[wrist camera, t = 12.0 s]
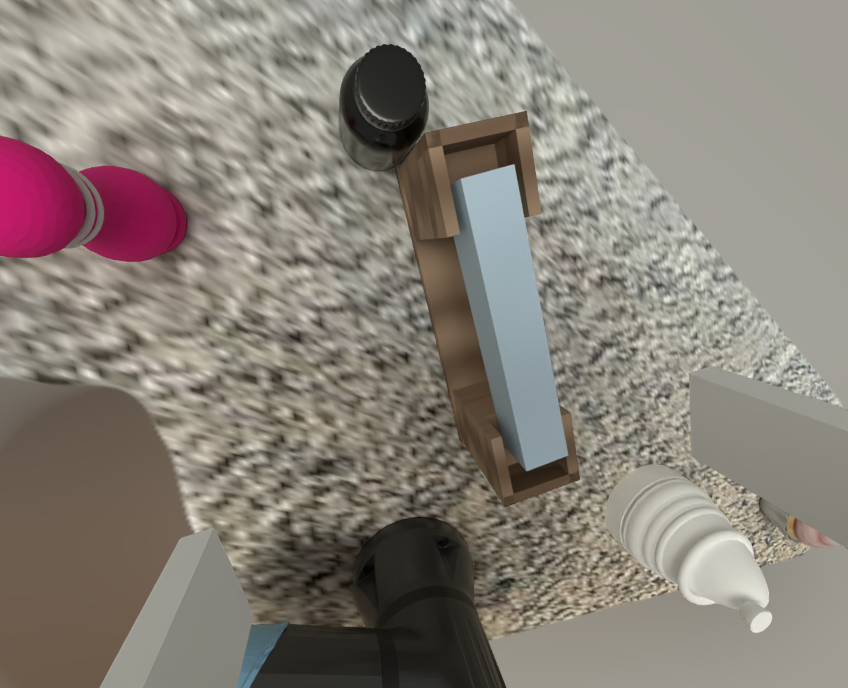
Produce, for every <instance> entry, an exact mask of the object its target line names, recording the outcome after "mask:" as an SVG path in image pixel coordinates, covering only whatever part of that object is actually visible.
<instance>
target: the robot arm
mask: <svg viewBox="0 0 848 688" xmlns="http://www.w3.org/2000/svg"><path fill="white" fill-rule="evenodd" d="M689 386H690V417H691V448H692V457H694V458H696V459H697V460H699V461H701V462H702V463H704V464H706V465H707V466H709V467H711V468H712V469H714V470H716V471H717V472H719V473H721V474H722V475H724V476H726V477H728V478H729V479H731V480H733V481H734V482H736V483H738V484H739V485H741V486H743V487H744V488H746V489H748V490H749V491H751V492H753V493H754V494H756V495H758V496H759V497H761V498H763V499H764V500H766V501H768V502H770V503H771V504H773V505H775V506H776V507H778V508H780V509H781V510H783V511H785V512H786V513H788V514H790V515H791V516H793V517H795V518H796V519H798V520H800V521H801V522H803V523H805V524H807V525H808V526H810V527H812V528H813V529H815V530H817V531H818V532H820V533H822V534H823V535H825V536H827V537H828V538H830V539H832V540H833V541H835V542H837V543H838V544H840V545H842V546H844V547H845V548H847V549H848V410H847V409H844V408H841V407H838V406H835V405H832V404H828V403H825V402H822V401H819V400H816V399H813V398H810V397H807V396H804V395H800V394H797V393H794V392H791V391H788V390H785V389H782V388H779V387H776V386H772V385H769V384H766V383H763V382H760V381H757V380H754V379H751V378H748V377H744V376H741V375H738V374H735V373H732V372H729V371H726V370H723V369H719V368H716V367H713V366H711V367H708V368H705V369H701V370H698V371H695V372H692V373H689ZM352 579H353V596H354V600H355V604H356V607H357V609H358V611H359V613H360V616H361V618H362V620H363V622H364V624H365V626H366V628H364V627H339V626H313V625H297V624H289V623H290V622H283V623H282V624H261V625H251V624H252V620H253V615H254V613H253V611H252V608H251V606H250V604H249V602H248V600H247V598H246V595H245V593H244V591H243V589H242V587H241V585H240V582H239V580H238V578H237V576H236V574H235V572H234V570H233V567H232V565H231V563H230V561H229V559H228V557H227V554H226V552H225V550H224V548H223V546H222V544H221V541H220V539H219V537H218V535H217V533H216V531H215V528H211V529H208V530H204V531H201V532H198V533H195V534H192V535H189V536H186V537H183V538H181V539H180V540H179V542H178V544H177V545H176V547H175V549H174V551H173V553H172V555H171V557H170V559H169V560H168V562H167V564H166V566H165V568H164V570H163V571H162V573H161V575H160V577H159V579H158V581H157V582H156V584H155V586H154V588H153V590H152V592H151V594H150V595H149V597H148V599H147V601H146V603H145V605H144V606H143V608H142V610H141V612H140V614H139V616H138V618H137V619H136V621H135V623H134V625H133V627H132V629H131V630H130V632H129V634H128V636H127V638H126V640H125V642H124V643H123V645H122V647H121V649H120V651H119V653H118V655H117V656H116V658H115V660H114V662H113V664H112V666H111V667H110V669H109V671H108V673H107V675H106V677H105V679H104V680H103V682H102V684H101V686H100V688H506V686H505V683H504V681H503V678H502V675H501V673H500V670H499V667H498V665H497V663H496V660H495V657H494V655H493V652H492V650H491V647H490V644H489V642H488V639H487V636H486V634H485V631H484V629H483V626H482V623H481V621H480V618H479V616H478V613H477V611H476V608H475V605H474V573H473V563H472V559H471V555H470V553H469V551H468V548H467V546H466V543H465V541H464V539H463V538H462V536H461V535H460V534H459V533H458V532H457V531H456V530H455V529H454V528H453V527H451V526H450V525H448V524H446V523H444V522H442V521H439V520H435V519H430V518H412V519H407V520H403V521H399V522H396V523H394V524H392V525H389V526H388V527H386V528H384V529H382V530H381V531H379V532H378V533H377V534H375V535H374V536H373V537H372V538H371V539H370V540H369V541H368V542H367V543H366V544H365V545H364V547H363V548H362V549H361V551H360V553H359V554H358V556H357V559H356V561H355V564H354V568H353V575H352Z"/></svg>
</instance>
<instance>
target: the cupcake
mask: <svg viewBox="0 0 848 688" xmlns="http://www.w3.org/2000/svg"><path fill="white" fill-rule="evenodd" d="M760 509H761V511H762V512H763V514H764V515H765V516H766V517H768V518H769V519H770V520H771V521H772V522H773V523H774V524H775V525H776V526H777V527H778V528H779V530H780V531H781V532H782V533H783V535H784V536H785V537H786V538H787V540H789V541H793V542H794V543H795V544H796V545H798V544H800V543H802V542H803V543H804V544H806V545H808V546H811V547H816V548H830V547H833V546H842V545H840V544H838V543H837V542H835V541H833V540H832V539H830V538H828V537H827V536H825V535H823V534H822V533H820V532H818V531H817V530H815V529H813V528H812V527H810V526H808V525H807V524H805V523H803V522H801V521H800V520H798V519H796V518H795V517H793V516H791V515H790V514H788V513H786V512H785V511H783V510H781V509H780V508H778V507H776V506H775V505H773V504H771V503H770V502H768V501H766V500H764V499H763V498H761V500H760Z"/></svg>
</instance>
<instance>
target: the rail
mask: <svg viewBox="0 0 848 688" xmlns="http://www.w3.org/2000/svg"><path fill="white" fill-rule="evenodd" d="M450 186H451V191H452V196H453V201H454V206H455V210H456V215H457V220H458V225H459V230H460V234H459V235H455V236H454V241H455V245H456V249H457V253H458V257H459V261H460V266H461V270H462V274H463V278H464V282H465V286H466V291H467V295H468V299H469V303H470V307H471V312H472V316H473V320H474V324H475V328H476V332H477V337H478V341H479V345H480V349H481V353H482V357H483V362H484V366H485V370H486V374H487V378H488V382H489V387H490V391H491V395H492V399H493V403H494V408H495V412H496V416H497V420H498V424H499V428H500V433H501V436H502V440H503V444H504V445H505V446H506V448H507V449H508V450H509V451H510V452H511V454H512V455H513V456H514V457H515V458H516V460H517V461H518V462H519V463H520V464H521V466H522V467H523V468H524V469H525V470H526V471H529V470H532V469H534V468H537V467H539V466H542V465H545V464H547V463H550V462H552V461H555V460H558V459H560V458H563V457H565V456H568V451H567V445H566V440H565V434H564V429H563V424H562V418H561V413H560V408H559V402H558V397H557V391H556V386H555V381H554V375H553V370H552V364H551V359H550V354H549V348H548V343H547V337H546V332H545V327H544V321H543V316H542V310H541V305H540V300H539V294H538V289H537V284H536V278H535V273H534V267H533V262H532V257H531V251H530V246H529V240H528V235H527V230H526V224H525V219H524V213H523V208H522V203H521V197H520V192H519V186H518V181H517V176H516V170H515V165H514V164H513V165H510V166H506V167H502V168H499V169H495V170H491V171H488V172H484V173H480V174H476V175H473V176H469V177H465V178H462V179H459V180H458V181H456V182H454V183H452V184H450Z"/></svg>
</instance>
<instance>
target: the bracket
mask: <svg viewBox="0 0 848 688" xmlns="http://www.w3.org/2000/svg"><path fill="white" fill-rule="evenodd" d="M513 164H514V165H515V170H516V176H517V181H518V186H519V192H520V197H521V203H522V208H523V213H524V217H529V216H533V215H537V214H541V207H540V200H539V193H538V186H537V179H536V172H535V165H534V158H533V151H532V144H531V137H530V131H529V124H528V117H527V111H524V112H520V113H515V114H510V115H506V116H501V117H496V118H492V119H487V120H482V121H478V122H473V123H469V124H464V125H459V126H455V127H450V128H445V129H441V130H436V131H431V132H427V133H425V134H424V135H423V136H422V137H421V139H420V140H419V141H418V143H417V144H416V145H415V147H414V148H413V149H412V151H411V152H410V153H409V155H408V156H407V157H406V159H405V160H404V161H403V163H402V164H401V165H400V166H399V167H397V168H396V169H395V172H396V176H397V180H398V184H399V189H400V193H401V197H402V201H403V205H404V209H405V214H406V218H407V222H408V226H409V230H410V234H411V239H412V243H413V247H414V251H415V255H416V259H417V264H418V268H419V272H420V276H421V280H422V284H423V289H424V293H425V297H426V301H427V305H428V309H429V314H430V318H431V322H432V326H433V330H434V334H435V339H436V343H437V347H438V351H439V355H440V359H441V364H442V368H443V372H444V376H445V380H446V384H447V389H448V393H449V397H450V401H451V405H452V409H453V414H454V418H455V422H456V426H457V430H458V434H459V439H460V441H461V443H462V444H463V445H464V444H465V445H466V447H467V448H468V450H469V451H470V453H471V455H472V456H473V458H474V459H475V461H476V462H477V464H478V465H479V467H480V469H481V470H482V472H483V473H484V475H485V476H486V478H487V479H488V481H489V483H490V484H491V486H492V487H493V489H494V490H495V492H496V494H497V495H498V497H499V498H500V500H501V501H502V503H503V504H504V506H505V507H507V506H509V505H512V504H515V503H518V502H520V501H523V500H526V499H528V498H531V497H534V496H537V495H539V494H542V493H545V492H548V491H550V490H553V489H556V488H559V487H561V486H564V485H567V484H570V483H572V482H575V481H578V480H580V476H579V469H578V462H577V456H576V449H575V442H574V435H573V428H572V421H571V414H570V412H568V411H567V410H566V409H564V408H563V407H561V406H560V405H559V408H560V413H561V418H562V424H563V429H564V434H565V440H566V445H567V451H568V456H565V457H563V458H560V459H558V460H555V461H552V462H550V463H547V464H545V465H542V466H539V467H537V468H534V469H532V470H529V471H526V470H525V469H524V468H523V467H522V466H521V464H520V463H519V462H518V461H517V460H516V458H515V457H514V456H513V455H512V454H511V452H510V451H509V450H508V449H507V448H506V446H505V445H504V444H503V440H502V436H501V433H500V428H499V424H498V420H497V416H496V412H495V408H494V403H493V399H492V395H491V391H490V387H489V382H488V378H487V374H486V370H485V366H484V362H483V357H482V353H481V349H480V345H479V341H478V337H477V332H476V328H475V324H474V320H473V316H472V312H471V307H470V303H469V299H468V295H467V291H466V286H465V282H464V278H463V274H462V270H461V266H460V261H459V257H458V253H457V249H456V245H455V241H454V236H455V235H459V234H460V230H459V225H458V220H457V215H456V210H455V206H454V201H453V196H452V191H451V186H450V184H452V183H454V182H456V181H458V180H459V179H462V178H465V177H469V176H473V175H476V174H480V173H484V172H488V171H491V170H495V169H499V168H502V167H506V166H510V165H513Z"/></svg>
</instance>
